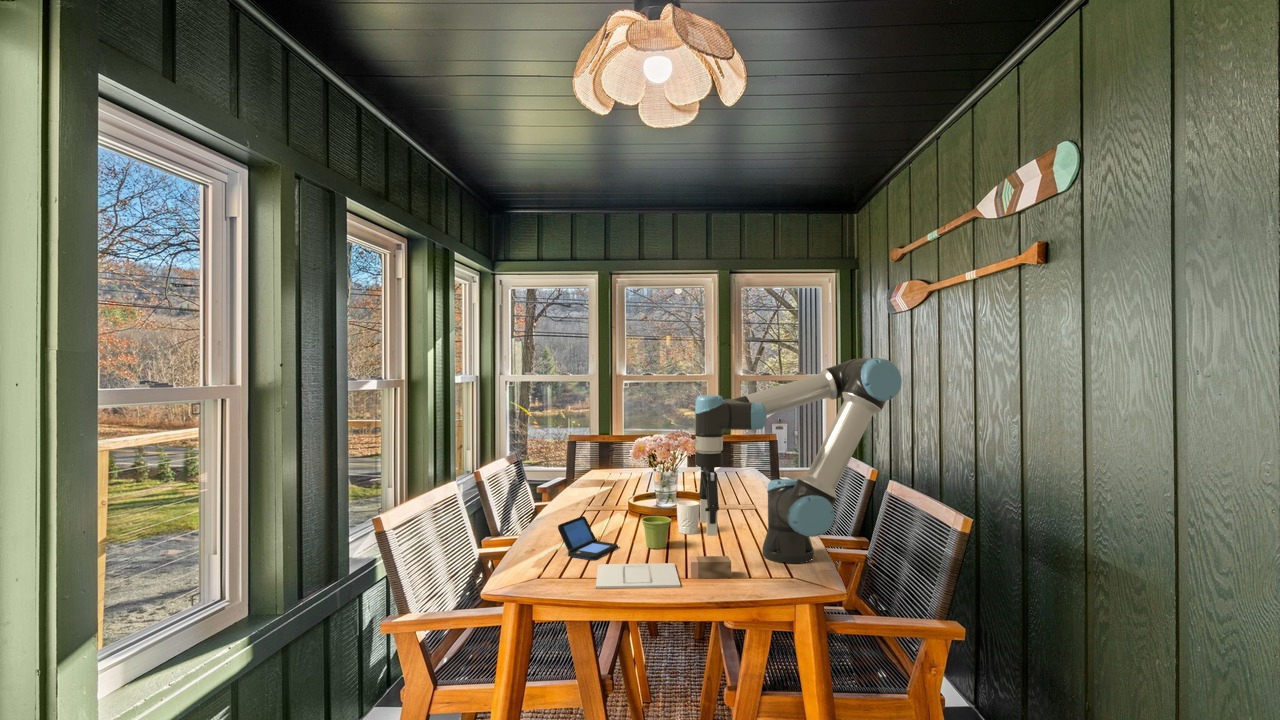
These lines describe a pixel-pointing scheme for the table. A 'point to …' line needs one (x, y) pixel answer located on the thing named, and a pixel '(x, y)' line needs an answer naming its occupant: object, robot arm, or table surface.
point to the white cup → (688, 517)
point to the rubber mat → (637, 576)
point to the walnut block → (709, 567)
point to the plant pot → (656, 531)
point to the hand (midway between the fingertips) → (708, 528)
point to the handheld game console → (583, 540)
